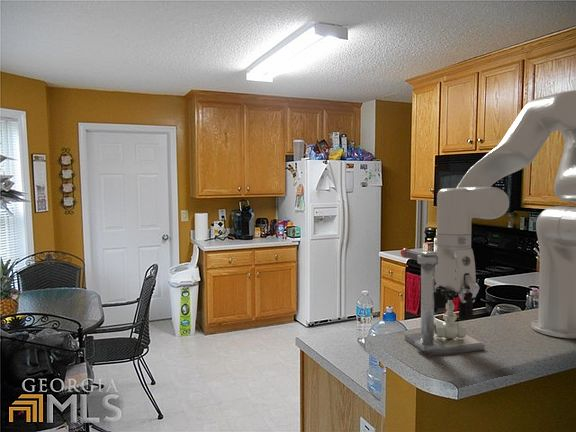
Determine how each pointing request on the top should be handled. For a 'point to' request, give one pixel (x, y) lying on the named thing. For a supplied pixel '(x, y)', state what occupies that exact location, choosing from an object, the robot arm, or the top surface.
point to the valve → (449, 318)
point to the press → (427, 337)
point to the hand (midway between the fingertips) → (452, 313)
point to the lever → (419, 257)
